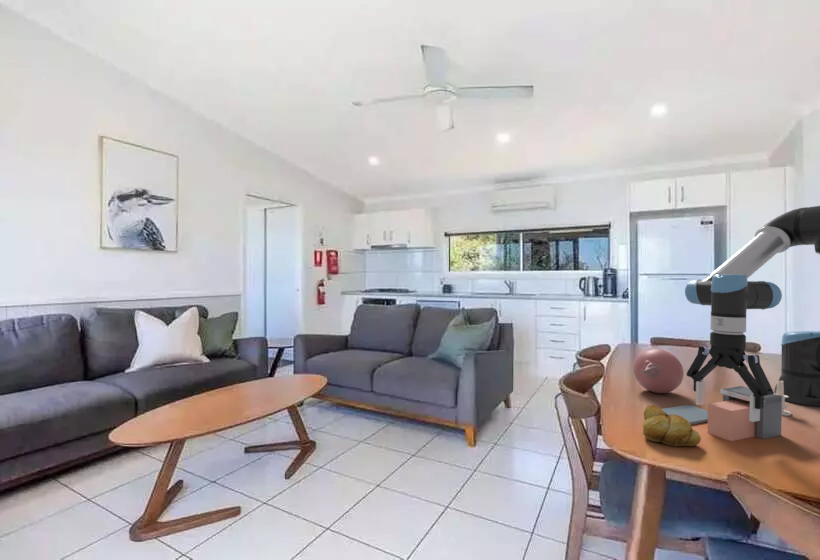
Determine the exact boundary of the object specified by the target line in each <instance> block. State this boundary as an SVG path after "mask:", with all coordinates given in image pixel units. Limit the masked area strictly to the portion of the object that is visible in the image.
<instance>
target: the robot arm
mask: <svg viewBox="0 0 820 560" xmlns="http://www.w3.org/2000/svg"><path fill="white" fill-rule="evenodd" d="M810 245H811V246H813V245H814V250H815V253H816V254H818V255H820V205H816V206H815V205H814V206H809V207H807V206H806V207H799V208H796V209H792V210H789V211H786V212H784V213H783V214H781V215H779V216H776V217H775V218H773V219H771V220H770V221H768V222H767V223H765V224H764V225H763V226H762V227H760V228H759V229H758V230H756V232H755V234H754V237H753V238H752V239H751V240H750V241H748V242H747V243H746V244H745V245H744V246H743V247H741V248H740V249H739V250H737V252H735V253H734V254H733V255H732V256H730V257H729V258H728V259H727V260H725V261H723V263H722V264H721V265H720V266H718V267H717V268H715V270H714V271H712V272H711V273H709V275H708V276H706V277H705V278H703V279H694V280H693V279H692V280H690V281H689V282H687V284H686V286H685V288H684V295H685V298H686V300H687V301H688V302H689V303H690V304H695V305H701V306H711V307H710V310H711V311H710V330H711V332H710V334H709V345H710V347H709V346H707V345H703V346H699V347H698V349H697V355H696V357H695V358H694V360H693V361H692V363H691V364H690V367H689V368H688V370H687V372H686V376H687V377H688V378H691V379H692V380H693V392H695V405H697V406H701V405H706V384H707V383H706V380H705V379H704V378H705V377H707V376H708V375H709V374H710V373H711V372H713V370H714V369H716V368H717V367H720V368H727V369H730V370H732V369H733V371H735V372H736V373H737V374H738V375H739V377H740V378H741V380H742V381H743V382H744V383H745V385H746V386H747V388H749V389H750V390H751V391H752V393H753V395H750V411H749V421H751V422H755V421H760V409H763V407H764V396H767V395H773V394H776V392H777V383H776V385H775V386H774V389H773V388H772V386H771V384H770V383H771V382H769V380H768V377H767V375H766V373H765V372H764V370H763V369H764V368H763V367H762V365H761V362H760V356H759V354H746V352H745V349H746V347H747V346H746V345H747V344H746V343H747V336H746V334H744V333H746V332H747V310H763V311H764V310H767V309H772V308H775V307H777V306H778V305H779V304H780V302H781V301H782V297H783V294H782V290H781V288H780V287H779V286H778V285H777V284H776V283H774V282H770V281H764V280H762V281H761V280H757V281H753V280H751V281H749V280H748V279H749V278H750V277H751V276H752V275H753V274H755V273H756V272H757V271H759V269H760V268H762V267H763V266H764V265H766V263H767V262H769V261H770V260H771V259H772V258H774V257H775V255H777V254H781V253H783V252H786V251H787V250H789V249H790V248H792V247H796V246H810ZM780 346H781V362H780V363H781V369H780V370H781V373H780V376H779V378H778V380H777V381H780V379H781V381H783V383H784V395H787V396H789V397H788V398H785V402H789V403H794V404H799V405H804V406H810V407H811V406H812V407H820V330H819V331H818V330H817V331H814V330H811V331H809V330H808V331H788V332H785V333H783V334H782V338H781V344H780ZM709 355H710V356H711V358H710V359H709V360H708V361H707V363H706V364H705V365H704V366H703V364H704V363H705V362H706V359H707V357H708V356H709ZM744 362H746V363H747V365H748V366H747V365H746V363H744ZM702 366H703V367H702ZM748 367H749V368H748ZM748 369H750V370H748ZM750 371H751V372H750Z"/></svg>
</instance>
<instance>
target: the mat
mask: <svg viewBox="0 0 820 560" xmlns="http://www.w3.org/2000/svg"><path fill="white" fill-rule="evenodd" d="M661 409H662V410H663V411H664V412H665V413H667V415H678V416H681V417H683V418H685V419H686V420H687V421H688V422H690V424H691V426H693V425H696V424H697V425H698V424H702V423H708V409H704V408H700V407H697V406H694V405H691V404H685V405H678V406H672V407H665V408H661Z"/></svg>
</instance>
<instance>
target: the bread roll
mask: <svg viewBox="0 0 820 560" xmlns="http://www.w3.org/2000/svg"><path fill="white" fill-rule="evenodd" d="M662 409H663V408H660V407H659V406H657V405H655V404H649V405H647V406H646V407H645V409H644V411H643V418H644V421H643V426H642V428H643V429H642V434H643V435H644V436H645V438H646V439H647V440H648V441H652V442H658V443H662V444H665V445H667V446H674V447H680V446H684V447H694V446H697V445H698V444H700V443H701V440H702V438H701V435H700V434H699V432H698V431H696V430H695V429H693V427H692V425H691V424H690V422H688V421H687V420H686V419H685V418H683V417H681V416H678V415H667V413H665V412H664V411H663V410H662Z"/></svg>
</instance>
